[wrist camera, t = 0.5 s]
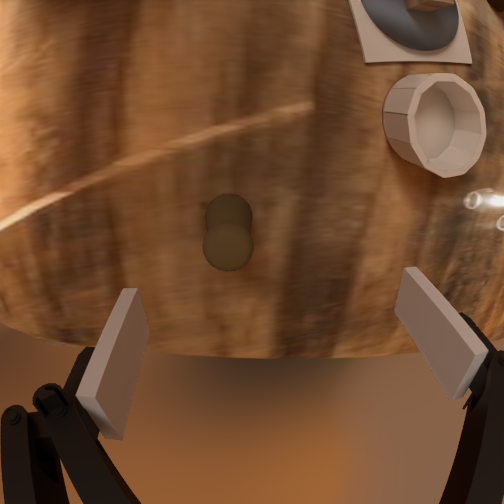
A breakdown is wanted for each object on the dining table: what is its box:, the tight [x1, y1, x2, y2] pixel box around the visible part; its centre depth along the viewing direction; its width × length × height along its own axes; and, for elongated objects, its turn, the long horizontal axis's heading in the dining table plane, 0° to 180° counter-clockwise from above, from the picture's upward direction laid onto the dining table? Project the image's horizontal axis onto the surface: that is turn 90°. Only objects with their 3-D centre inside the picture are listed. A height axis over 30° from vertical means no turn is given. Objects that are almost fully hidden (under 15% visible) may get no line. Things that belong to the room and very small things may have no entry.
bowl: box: [382, 73, 486, 178], centre depth 33 cm, size 13×13×7 cm
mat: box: [348, 0, 472, 64], centre depth 28 cm, size 19×19×1 cm
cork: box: [203, 194, 253, 271], centre depth 36 cm, size 6×6×11 cm
